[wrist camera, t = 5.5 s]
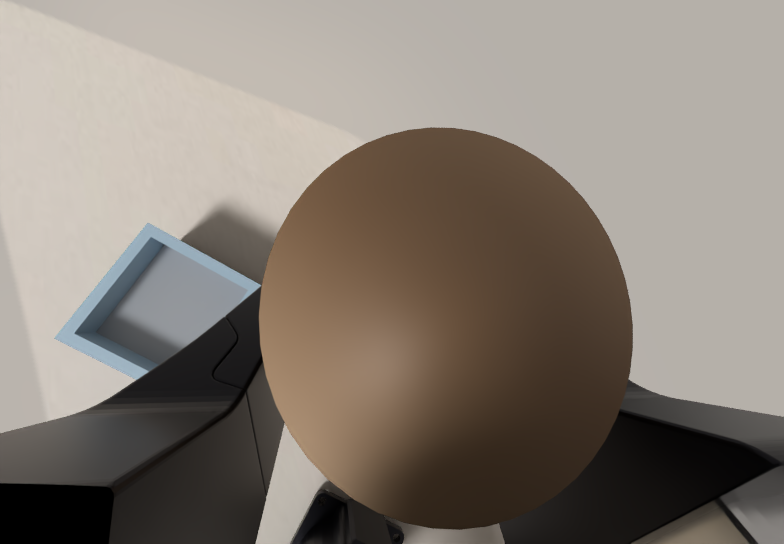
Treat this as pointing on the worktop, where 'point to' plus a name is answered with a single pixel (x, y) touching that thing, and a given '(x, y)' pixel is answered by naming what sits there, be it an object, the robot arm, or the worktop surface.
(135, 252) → the light blue open box
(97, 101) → the worktop surface
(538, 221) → the pillar
